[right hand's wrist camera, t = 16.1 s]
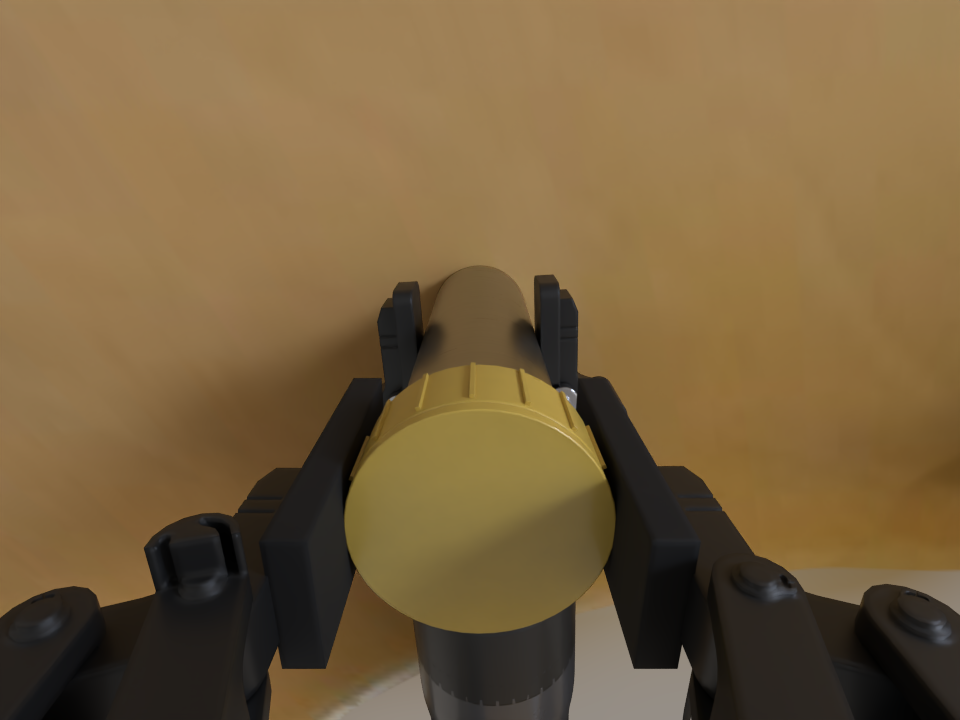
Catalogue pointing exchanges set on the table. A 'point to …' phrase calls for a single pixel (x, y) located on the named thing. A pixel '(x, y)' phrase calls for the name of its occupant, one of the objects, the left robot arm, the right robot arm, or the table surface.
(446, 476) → the lid
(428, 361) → the jar
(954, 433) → the table surface
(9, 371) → the table surface
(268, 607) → the right robot arm
